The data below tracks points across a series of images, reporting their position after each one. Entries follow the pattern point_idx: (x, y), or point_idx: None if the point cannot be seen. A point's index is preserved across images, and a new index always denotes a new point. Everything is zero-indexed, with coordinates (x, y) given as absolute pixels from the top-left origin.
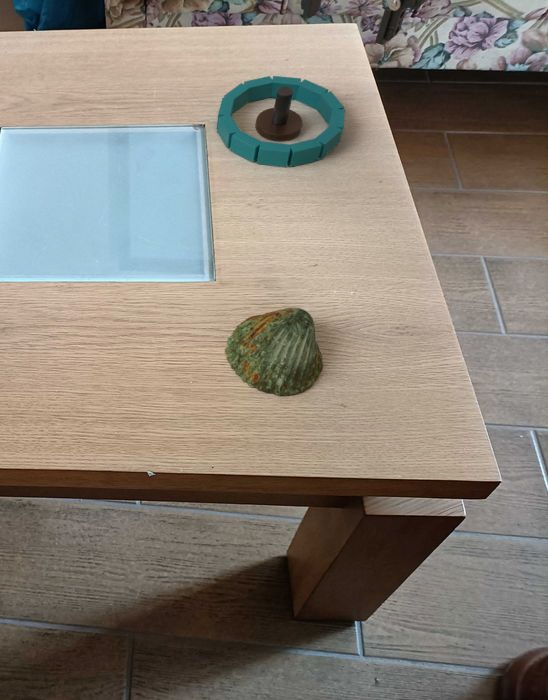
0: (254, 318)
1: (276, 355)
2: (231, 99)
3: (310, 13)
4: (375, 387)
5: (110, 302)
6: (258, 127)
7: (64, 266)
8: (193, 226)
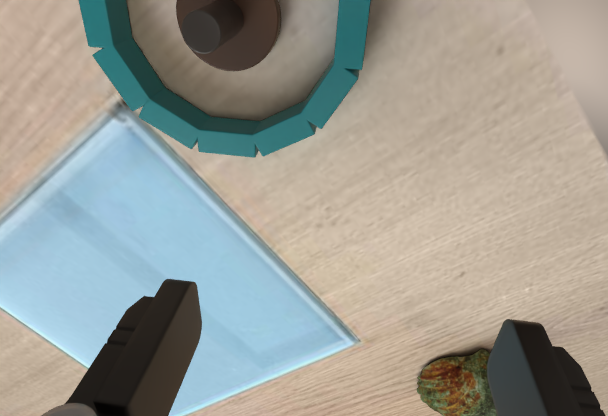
0: (435, 386)
1: None
2: (110, 50)
3: (195, 338)
4: (590, 375)
5: (286, 397)
6: (207, 62)
7: (214, 384)
8: (282, 291)
